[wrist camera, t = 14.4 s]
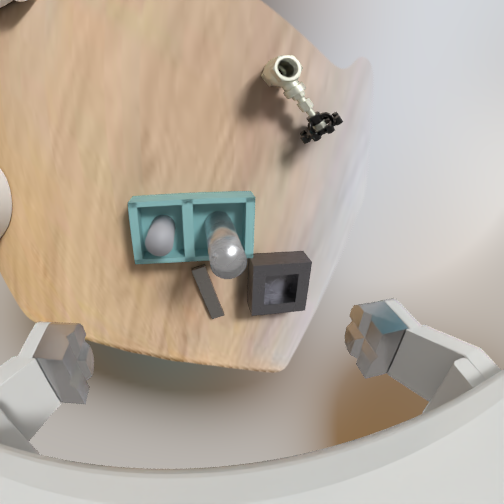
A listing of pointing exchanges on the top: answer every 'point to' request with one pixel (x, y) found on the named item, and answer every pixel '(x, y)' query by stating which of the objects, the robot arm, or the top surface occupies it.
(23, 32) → the top surface
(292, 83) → the valve
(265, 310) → the socket block
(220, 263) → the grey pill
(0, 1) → the spread jar
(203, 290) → the bar
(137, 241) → the rack
